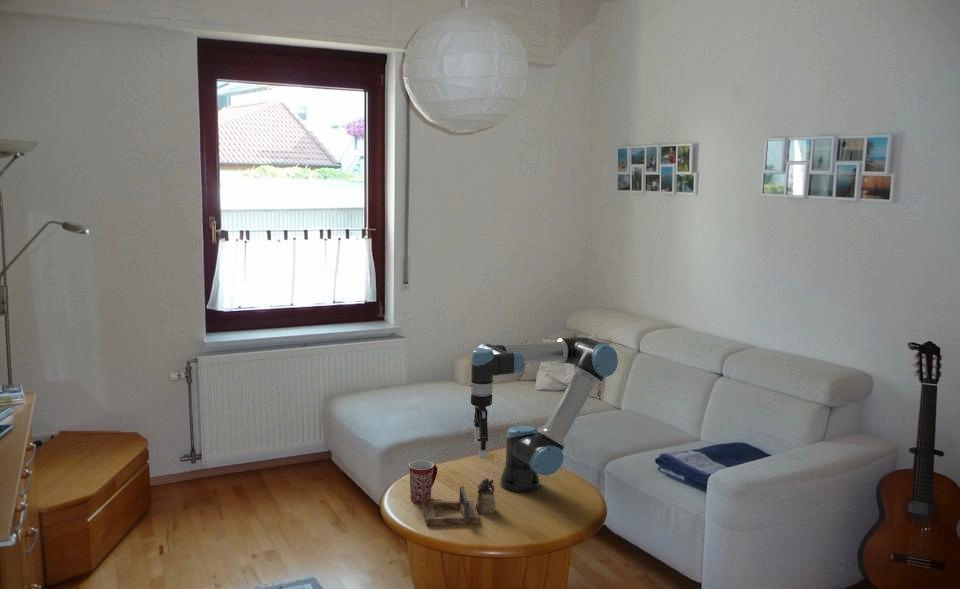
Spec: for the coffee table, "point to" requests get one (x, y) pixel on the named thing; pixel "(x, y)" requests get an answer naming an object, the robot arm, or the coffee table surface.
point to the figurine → (485, 497)
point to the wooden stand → (463, 504)
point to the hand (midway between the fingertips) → (480, 451)
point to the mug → (421, 480)
